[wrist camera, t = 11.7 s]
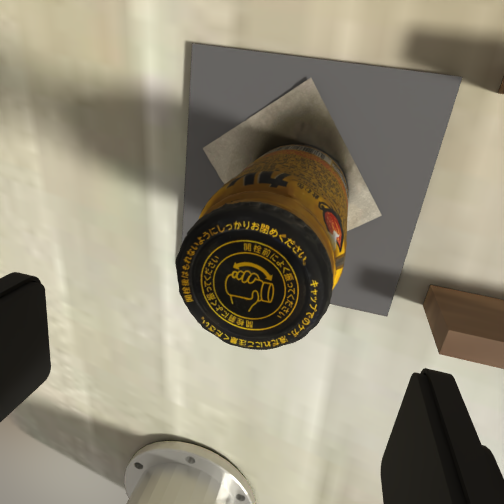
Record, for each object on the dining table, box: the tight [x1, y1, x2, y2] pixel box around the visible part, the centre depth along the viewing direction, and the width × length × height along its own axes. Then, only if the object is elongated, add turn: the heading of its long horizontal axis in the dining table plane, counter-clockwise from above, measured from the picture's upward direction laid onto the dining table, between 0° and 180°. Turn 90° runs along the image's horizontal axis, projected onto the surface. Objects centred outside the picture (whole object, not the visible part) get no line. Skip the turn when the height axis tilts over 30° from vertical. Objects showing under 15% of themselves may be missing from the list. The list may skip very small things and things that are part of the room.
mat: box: [182, 43, 462, 316], centre depth 23 cm, size 14×14×1 cm
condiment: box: [176, 78, 382, 350], centre depth 18 cm, size 7×8×12 cm
